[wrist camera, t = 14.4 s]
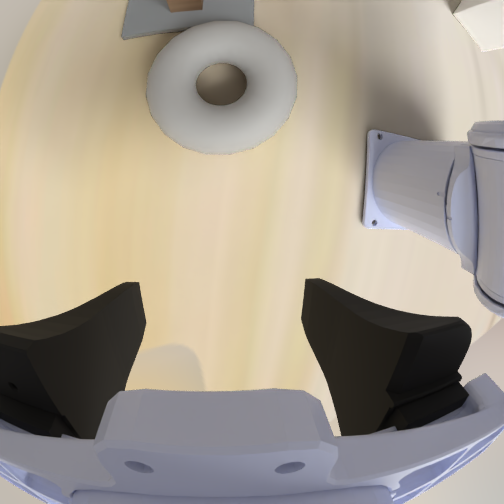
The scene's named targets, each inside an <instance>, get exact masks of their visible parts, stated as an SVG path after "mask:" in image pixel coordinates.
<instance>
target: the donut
mask: <svg viewBox="0 0 504 504" xmlns="http://www.w3.org/2000/svg"><path fill="white" fill-rule="evenodd" d="M217 63H228V64H231V65H235V66H236V67H238V68H239V69H241V71H242V72H243V73H244V74H245V76H246V79H247V88H246V90H245V92H244V94H243V95H242V97H241V98H240V99H239V100H237V101H236V102H234V103H232V104H228V105H213V104H209V103H207V102H206V101H204V100H203V99H202V98H201V97H200V96H199V94H198V92H197V89H196V80H197V78H198V76H199V74H200V73H201V72H202V71H203V70H204V69H205V68H207V67H209V66H210V65H213V64H217ZM146 97H147V101H148V105H149V109H150V113H151V116H152V117H153V119H154V120H155V122H156V123H157V125H158V126H159V127H160V129H161V130H162V132H163V133H164V134H165V135H166V136H168V137H169V138H170V139H172V140H173V141H175V142H176V143H178V144H179V145H180V146H182V147H183V148H187V149H190V150H193V151H196V152H200V153H203V154H219V155H231V154H234V153H238V152H241V151H245V150H249V149H252V148H255V147H256V146H258V145H259V144H261V143H263V142H264V141H266V140H267V139H269V138H271V137H272V136H274V135H275V133H276V132H277V131H278V130H279V129H280V128H281V126H282V125H283V124H284V123H285V122H286V121H287V119H288V118H289V115H290V113H291V110H292V108H293V105H294V103H295V100H296V98H297V74H296V71H295V68H294V65H293V62H292V60H291V57H290V56H289V54H288V53H287V52H286V50H285V49H284V48H283V47H282V45H281V44H280V43H279V42H278V40H276V39H275V38H273V37H272V36H270V35H269V34H267V33H266V32H264V31H263V30H261V29H260V28H258V27H255V26H252V25H248V24H245V23H242V22H238V21H212V22H208V23H204V24H200V25H196V26H193V27H191V28H189V29H187V30H186V31H184V32H182V33H180V34H179V35H177V36H175V37H174V38H172V39H171V40H170V41H169V43H168V44H167V45H166V46H165V47H164V48H163V49H162V50H161V51H160V52H159V53H158V54H157V56H156V58H155V60H154V62H153V64H152V66H151V69H150V71H149V73H148V78H147V88H146Z"/></svg>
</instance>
